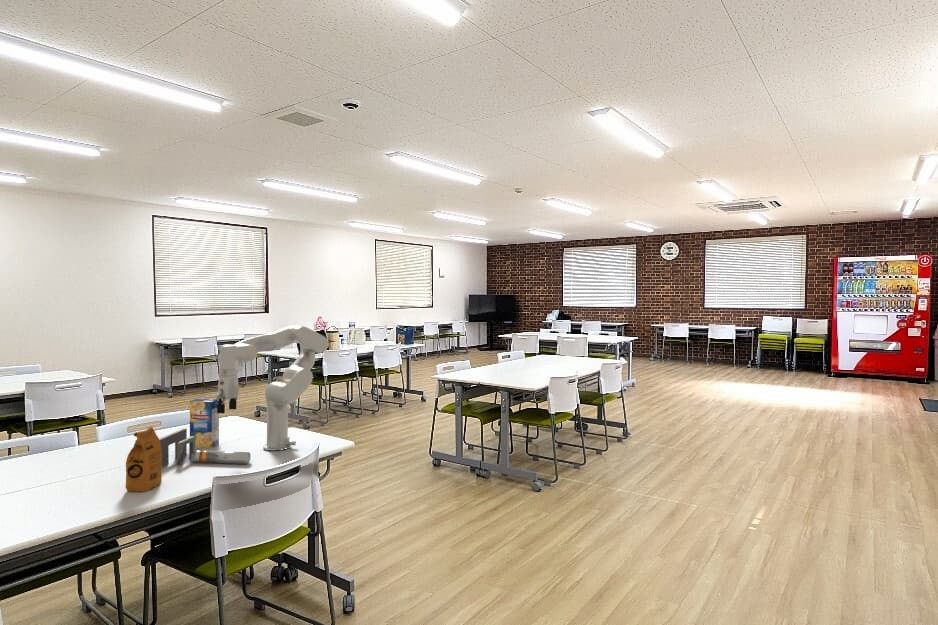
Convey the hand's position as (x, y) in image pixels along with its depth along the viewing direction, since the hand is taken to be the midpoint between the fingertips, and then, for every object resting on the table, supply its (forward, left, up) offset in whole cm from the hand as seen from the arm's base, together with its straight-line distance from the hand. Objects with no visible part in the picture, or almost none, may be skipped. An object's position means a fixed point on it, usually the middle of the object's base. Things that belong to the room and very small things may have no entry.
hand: (226, 411), depth 248 cm
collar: (+15, +6, -22) cm, 27 cm away
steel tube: (0, +6, -22) cm, 22 cm away
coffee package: (+13, +38, -22) cm, 45 cm away
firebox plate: (+22, +6, -22) cm, 31 cm away
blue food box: (+21, -20, -22) cm, 37 cm away
